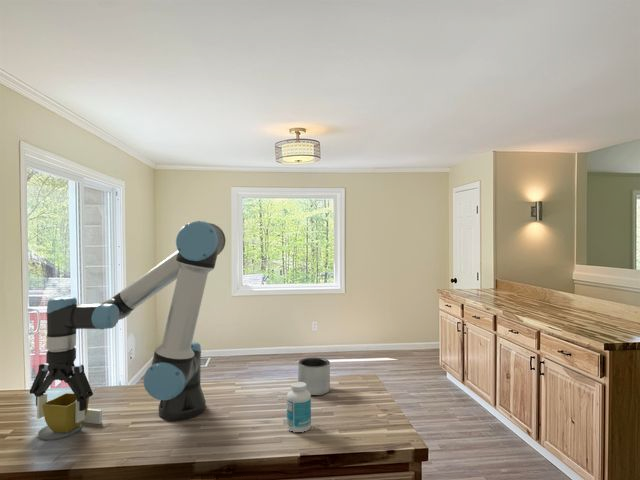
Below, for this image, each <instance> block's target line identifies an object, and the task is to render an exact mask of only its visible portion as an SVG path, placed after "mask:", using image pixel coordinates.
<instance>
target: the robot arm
mask: <svg viewBox="0 0 640 480" xmlns="http://www.w3.org/2000/svg"><path fill="white" fill-rule="evenodd" d="M175 244H176V245H175V246H176V249H177V250H176V251H175V252H174V253H172V254H171V255H169V256H168V257H167V258H165V259H164V260H163V261H161V262H160V263H158V264H157V265H155V266H154V267H153V268H151V269H150V270H149V271H148V272H146V273H144V274H143V275H142V276H140V277H139V278H137V279H135V281H133V282H131V283H130V284H129V285H128V286H126V287H125V288H124V289H122V290H121V291H120V292H118V293H117V294H115V295H114V296H112V297H111V298H109V299H107V300H103V301H100V302H96V303H78V300H77V298H76V297H75V296H58V297H57V296H56V297H53V298H50V299H48V300H47V307H46V313H45V314H46V350H47V351H46V354H45V357H46V359H45V361H46V362H43V363H40V364H39V365H38V371H37V373H36V375H35V378H34V380H33V383H32V385H31V386H30V389H29V394H30V395H32V394H33V395H34V397H35V406H36V419H38V420H39V419H43V418H44V412H43V406H42V404H44V403H46V402H48V394H47V391H48V389H49V387H51V385H52V384H53V383H54V381H58V380H59V381H62V382H63V381H64V383H66V384H67V385H68V387H69V388H70V389H71V391H72V392H73V394H75V396H76V397H77V399H78V400H76V402H75V423H78V422H80V421H82V420H84V419H85V409H86V403H87V398H89V399H90V398H91V397H92V396H93V395H94V393H93V390H92V387H91V385H90V382H89V380H88V378H87V375H86V372H85V366H84V364H80V365H75V361H76V358H77V348H76V346H77V330H107V329H113V328H114V327H116V326H117V324H118V322H119V320H123V319H124V318H126V317H128V316H129V315H130V314H131V312H132V311H134V310H135V309H136V308H138V307H139V306H141V305H142V304H144V303H145V302H146V301H148V300H149V299H151V298H152V297H154V296H155V295H156V294H157V293H159V292H161V291H162V290H163V289H165V288H166V287H168V285H170V284H171V283H173V282H174V281H176V282H175V285H174V290H173V295H172V298H171V302H170V303H171V304H170V307H169V312H168V317H167V320H166V325H165V330H164V333H163V337H162V343H161V344H160V345H158V346H157V347H155V350H154V354H153V357H152V361H151V365H150V366H149V367H148V368H147V369H146V371H145V373H144V375H143V387H144V390H145V391H146V392H147V393H148V395H149V396H151V397H152V398H154V399H156V400H159V405H158V416H159V417H160V418H162V419H164V420H169V421H171V420H172V421H173V420H175V421H178V420H186V419H190V418H193V417H196V416H199V415H200V414H202V413H203V412H204V411H205V410H206V406H207V405H206V398H205V396H204V391H203V389H202V386H201V371H202V370H201V369H202V368H201V366H202V363H201V362H202V357H201V356H202V354H201V353H202V348H201V347H202V346H201V344H200V343H199V342H196V341H193V340H194V335H195V331H196V327H197V322H198V318H199V313H200V309H201V305H202V301H203V297H204V292H205V289H206V288H205V287H206V283H207V281H208V275H209V273H210V272H212V271H213V270H214V269H215V266H216V262H217V258H218V255H220V254H221V253H222V251H223V250H224V248H225V246H226V236H225V233H224V231H223V229H222V228H221V227H219V226H218V225H216V224H215V223H210V222H207V221H202V220H201V221H200V220H196V221H192V222H188V223H187V224H184V225H183V226H182V227H181V228H180V230H179V231H178V233H177V236H176V240H175ZM48 372H49V373H48ZM81 394H82V396H81Z"/></svg>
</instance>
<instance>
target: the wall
mask: <svg viewBox="0 0 640 480" xmlns="http://www.w3.org/2000/svg"><path fill="white" fill-rule="evenodd" d="M82 423H89V424H96V425H97V424H98V425H100V424H102V423H103V410H102V409H96V408H90V407H88V409H87V413H86V416H85V419H84V420H83V421H82Z"/></svg>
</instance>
